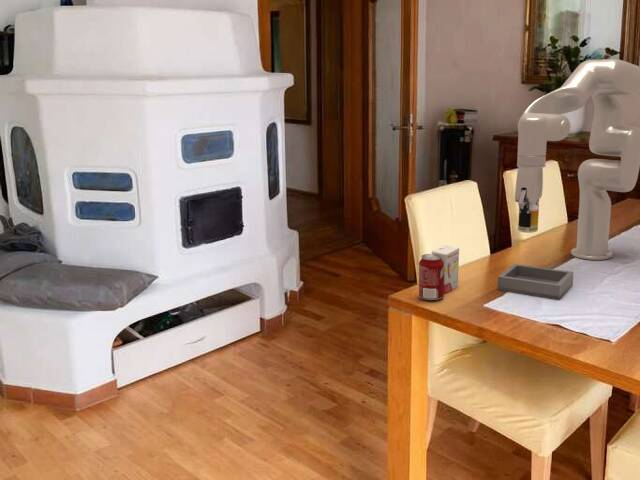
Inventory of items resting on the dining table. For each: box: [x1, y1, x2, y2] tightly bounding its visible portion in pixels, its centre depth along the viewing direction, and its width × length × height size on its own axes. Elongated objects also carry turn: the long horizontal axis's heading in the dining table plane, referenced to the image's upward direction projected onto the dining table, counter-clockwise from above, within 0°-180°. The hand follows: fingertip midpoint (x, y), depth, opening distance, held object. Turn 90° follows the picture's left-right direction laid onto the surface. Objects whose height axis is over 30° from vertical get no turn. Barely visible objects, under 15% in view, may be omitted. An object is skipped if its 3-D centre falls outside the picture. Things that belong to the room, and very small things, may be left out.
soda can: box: [418, 253, 445, 301], centre depth 181 cm, size 7×7×12 cm
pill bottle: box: [517, 200, 540, 234], centre depth 187 cm, size 5×5×10 cm
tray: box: [497, 263, 574, 301], centre depth 187 cm, size 14×17×4 cm
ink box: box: [430, 244, 460, 295], centre depth 188 cm, size 9×5×12 cm, turn 142°
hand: (528, 224), depth 188 cm, fingers closed on pill bottle, 5 cm apart
